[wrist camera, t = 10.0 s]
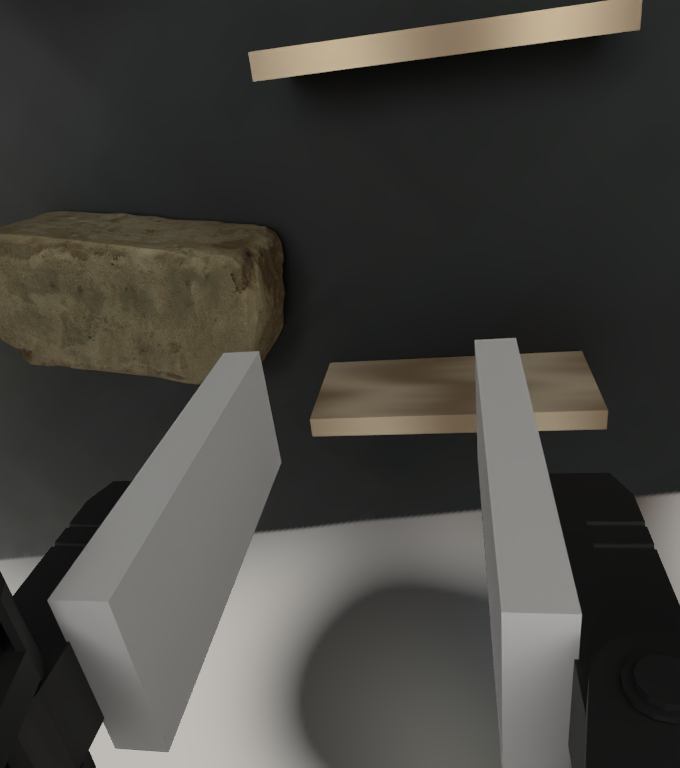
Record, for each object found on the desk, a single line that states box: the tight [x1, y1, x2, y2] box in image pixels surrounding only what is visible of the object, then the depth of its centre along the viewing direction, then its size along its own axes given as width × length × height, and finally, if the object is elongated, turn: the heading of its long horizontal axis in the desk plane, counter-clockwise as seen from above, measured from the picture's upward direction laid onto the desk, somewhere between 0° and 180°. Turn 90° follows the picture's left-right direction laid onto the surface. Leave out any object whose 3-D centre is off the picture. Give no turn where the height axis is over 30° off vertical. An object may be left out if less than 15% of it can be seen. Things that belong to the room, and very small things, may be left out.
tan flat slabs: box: [248, 0, 642, 436], centre depth 23 cm, size 11×14×5 cm
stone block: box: [0, 211, 285, 384], centre depth 26 cm, size 6×12×5 cm, turn 89°
